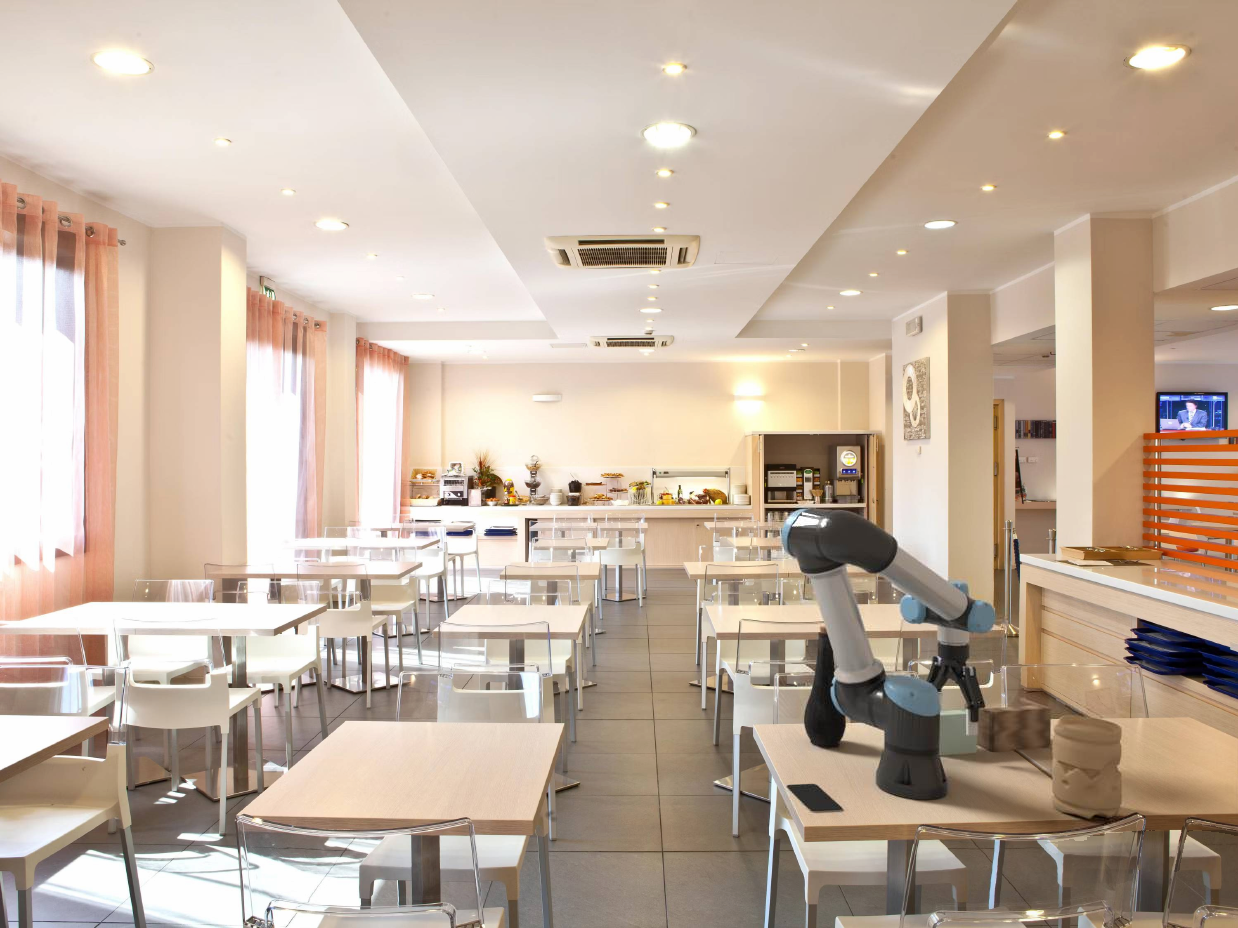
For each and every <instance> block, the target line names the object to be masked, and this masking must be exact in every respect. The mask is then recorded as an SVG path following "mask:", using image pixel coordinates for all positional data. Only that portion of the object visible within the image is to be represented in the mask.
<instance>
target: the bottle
mask: <svg viewBox="0 0 1238 928" xmlns="http://www.w3.org/2000/svg"><path fill="white" fill-rule="evenodd" d="M819 631H820V632H819ZM819 631H818V633H817V635H818V638H817V639H818V641H817V655H816V663H815V671H814V679H813V682H812V687H811V691H810V695H809V698H808V700H807V703H806V706H805V710H804V715H803V725H804V730H805V733H806V735H807V737H808V738H809V740H810V744H811V743H812V745H813V746H815V747H818V748H819V747H820V748H826V749H831V748H832V749H833V748H837V747H839V746H840V742H841V740H842V739H843V737H844V735H845V732H846V726H847V720H846V718H847V716H845V715H843V714H842V713H840V712H839V711H838V710H837V708H836V707H835V705H834V703H833V701H832V697H831V687H832V686H833V683H832V681H833V678H834V677H835V676H834V672H835V670H836V666H835V655H834V652H833V649H832V646H831V643H830V640H829V636H828V633H827V630H826V627H825V625H824V626H820V627H819Z"/></svg>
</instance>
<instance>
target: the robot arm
mask: <svg viewBox="0 0 1238 928" xmlns="http://www.w3.org/2000/svg"><path fill="white" fill-rule="evenodd" d="M780 539H781V545H782V547H783V549H784V551H785V552H786V553H787V554H788V555H790V556H791V557H792V558H796V561H797V563H798V566H799V570H800V573H801V574H803V575H805V576H807V577H809V579H810V583H811V586H812V589H813V593H814V595H815V599H816V602H817V604H818V607H819V611H820V614H821V618H822V620H823V623H824V626H825V627H826V630H827V633H828V636H829V640H830V643H831V646H832V649H833V653H834V660H835V661H836V664H837V667H835V672H834V676H835V677H834V678H833V681H832V683H833V686H832V687H831V697H832V701H833V703H834V705H835V707H836V708H837V710H838V711H839V712H840V713H842V714H843V715H845V717H846V718H849V719H850V720H852V721H855V722H857V723H861V724H865V725H867V726H871V727H872V728H874V729H878V730H881V731H883V734H884V735H883V736H884V738H883V740H884V742H883V743H884V744H883V746H884V747H883V751H882V754H881V757H880V759H879V763H878V766H877V768H876V771H875V784H876V786H877V787H878V788H879V789H881V790H882V791H884V792H886V793H889V794H891V795H894V796H898V797H902V798H908V799H916V800H935V799H936V800H937V799H940V798H944V797H945V796H946V795H947V794H948V791H949V790H948V788H949V787H948V786H949V785H948V783H949V782H948V778H947V775H946V772H945V769H944V766H943V763H942V760H941V755H939V741H940V711H943V691H942V689H943V687H944V686H945V685H946V683H947V682H948V680H949V679H950V680H951V681H953V682H954V683H955V684H956V685H958V687H959V689H960V692H961V694H962V696H963V699H965V703H966V702H967V705H968V707H967V708H966V735H978V721H979V708H986V703H985V700H984V696H983V694H982V690H981V686H980V684H979V681H978V677H977V669H976V667H975V666H968V665H967V660H969V659H970V645H969V644H968V643H969V642H970V634H974V633H976V634H981V635H982V634H984V635H985V634H988V633H989V632H990V631H991V630H993V628H994V625H995V623H996V612H995V611H996V610H995V608H994V607H993V605H992V604H991V603H990V602H987V601H984V600H981V599H974V598H972V597H971V596H970V593H969V592H970V591H969V585H968V584H967V583H966V582H965V581H959V580H947V579H945V578H944V577H942V576H941V575H939V574H938V573H937V572H935V571H934V570H932V569H931V568H929V567H928V566H926V564H924V563H923V562H921V561H919V559H917V558H916V557H914V556H913V555H911V554H910V553H908V552H907V551H906V550H904V549H903V548H901V547H900V546H899V544H898V541H897V539H896V538H895V537H894V536H893V535H892V534H890V533H888V532H887V531H886V530H884V529H883V528H881V527H880V526H878V525H876V524H875V522H872V521H871V520H869V519H867V518H866V517H863V516H861V515H860V514H857V513H855V512H853V511H849V510H846V509H845V510H843V509H823V508H815V507H810V508H801V509H797V510H795V511H793V512H792V513H790V514H789V516H788V517H787V518H786V520H785V521H784V525H783V526H782V529H781V535H780ZM848 565H850V566H853V567H854V566H855V567H857V568H859V569H862V570H864V571H865V572H867V573H868V574H871V575H879V576H880V577H882V578H883V579H885V580H887V582H890V583H891V584H893V585H894V586H895V587H897V588H898V589H900V590H902V591H903V592H904V593H906V594H905V595H903V596H902V598H901V600H900V602H899V612H900V614H901V617H902V618H903V620H904V621H905V622H907V623H909V624H912V625H915V624H916V625H921V624H929V625H934V626H937V627H936V628H937V630H936V633H937V634H936V638H937V641H938V642H937V655H935V656H932V660H931V661H932V662H931V666H930V669H929V671H928V675H927V678H926V680H924V679H921V678H919V677H913V676H909V675H900V674H899V675H898V674H897V675H889V676H888V677H887V673H886V670H885V667H884V664H883V662H882V660H880V659H878V658H876V657H875V656H874V654H873V651H872V647H871V644H870V640H869V638H868V635H867V631H866V627H865V625H864V621H863V618H862V615H861V612H860V608H859V606H858V605H859V604H858V601H857V598H856V595H855V593H854V589H853V585H852V583H851V580H850V576H849V573H848V570H847V566H848ZM972 703H973V704H972Z"/></svg>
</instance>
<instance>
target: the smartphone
mask: <svg viewBox="0 0 1238 928" xmlns="http://www.w3.org/2000/svg"><path fill="white" fill-rule="evenodd" d="M785 788H786V789H787V790H788V791H789V792H790V793H791V794H792V795H793V796H794V797H795V798H796V799H797V800H798V801H799V802H800V803H801V804H802V806H804V807H805V808H806V809H807V810H808V811H809V812H810V813H814V814H815V813H816V814H817V813H819V814H820V813H821V814H822V813H835V812H837V813H838V812H842V811H843V810H844V809H843V806H841V805H840V804H839V802H838V803H837V802H836V800H834V799H833V798H832V797H831V796H830V795H829V794H828V793H827V792H825V791H824V790H823V788H821V787H820V786H819V785H818V784H816V783H798V784H787V785H786V786H785Z"/></svg>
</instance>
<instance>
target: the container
mask: <svg viewBox="0 0 1238 928" xmlns="http://www.w3.org/2000/svg"><path fill="white" fill-rule="evenodd" d="M1053 726H1054V727H1053V732H1054V733H1053V734H1052V769H1051V771H1052V773H1051V774H1052V780H1051V781H1052V782H1051V783H1052V784H1051V785H1052V787H1051V789H1052V790H1051V791H1052V794H1053V795H1052V800H1051V801H1052V805H1053V807H1052V808H1054V809H1056V811H1058V812H1063V813H1062V814H1068V815H1069V814H1070V815H1076V816H1079V817H1083V818H1086V819H1089V820H1090V819H1092V817H1094V816H1099V817H1102V818H1106V819H1107V818H1113V817H1114V816H1116V814H1117V813H1118V812H1119V811H1120V809H1121V805H1122V801H1123V800H1122V798H1123V797H1122V795H1123V794H1122V792H1123V790H1122V789H1123V788H1122V787H1123V784H1122V781H1123V780H1122V776H1123V775H1122V771H1120V770H1119V768H1118V766H1119V765H1120V763H1121V760H1122V750H1123V748H1122V743H1121V740H1122V737H1123V736H1122V735H1123V734H1122V733H1123V731H1122V727H1121V726H1120V725H1119V724H1117V723H1114V722H1112V721H1110V720H1109V721H1108V720H1105V719H1102V718H1097V717H1091V716H1080V715H1074V714H1069V715H1067V714H1066V715H1062V716H1061V717H1059V718H1058V721H1057V722H1056V724H1055V725H1053Z"/></svg>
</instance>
